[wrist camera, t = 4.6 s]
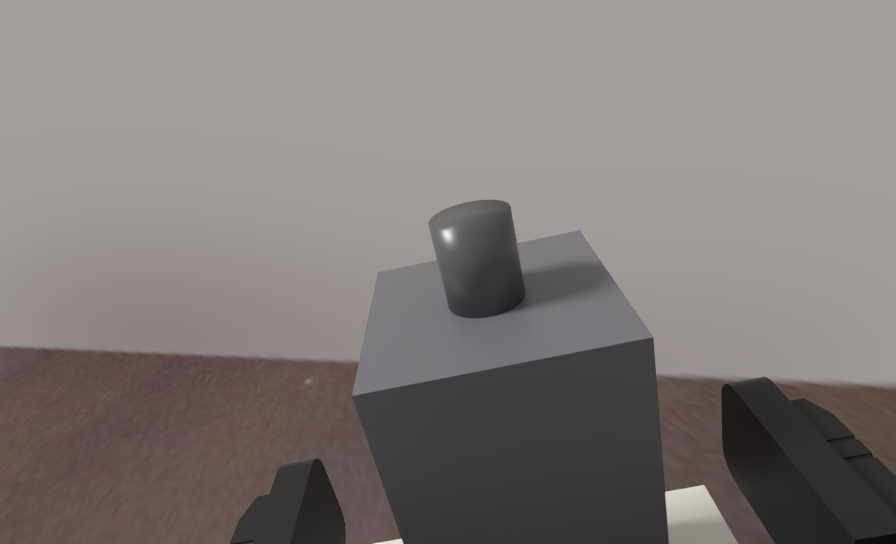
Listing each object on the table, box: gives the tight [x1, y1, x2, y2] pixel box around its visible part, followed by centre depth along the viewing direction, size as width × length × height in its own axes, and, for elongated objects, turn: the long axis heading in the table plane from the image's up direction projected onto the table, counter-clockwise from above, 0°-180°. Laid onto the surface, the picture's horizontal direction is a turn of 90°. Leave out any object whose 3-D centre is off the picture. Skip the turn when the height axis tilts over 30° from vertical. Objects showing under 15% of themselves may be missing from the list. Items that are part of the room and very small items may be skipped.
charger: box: [352, 200, 669, 544], centre depth 12 cm, size 4×4×13 cm
